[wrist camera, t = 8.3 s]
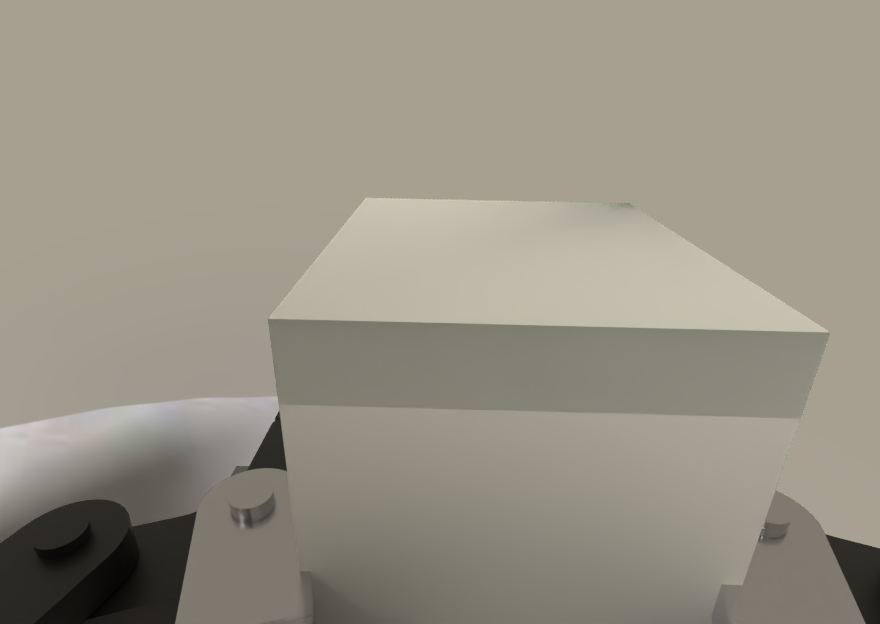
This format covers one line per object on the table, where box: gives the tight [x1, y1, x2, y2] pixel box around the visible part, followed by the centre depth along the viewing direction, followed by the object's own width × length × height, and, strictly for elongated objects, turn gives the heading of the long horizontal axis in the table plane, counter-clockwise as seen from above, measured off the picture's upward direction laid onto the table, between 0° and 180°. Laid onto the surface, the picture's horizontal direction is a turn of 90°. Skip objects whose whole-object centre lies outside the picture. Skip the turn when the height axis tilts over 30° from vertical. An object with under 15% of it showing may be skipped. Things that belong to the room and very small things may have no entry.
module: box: [268, 198, 830, 624], centre depth 8 cm, size 4×5×10 cm
